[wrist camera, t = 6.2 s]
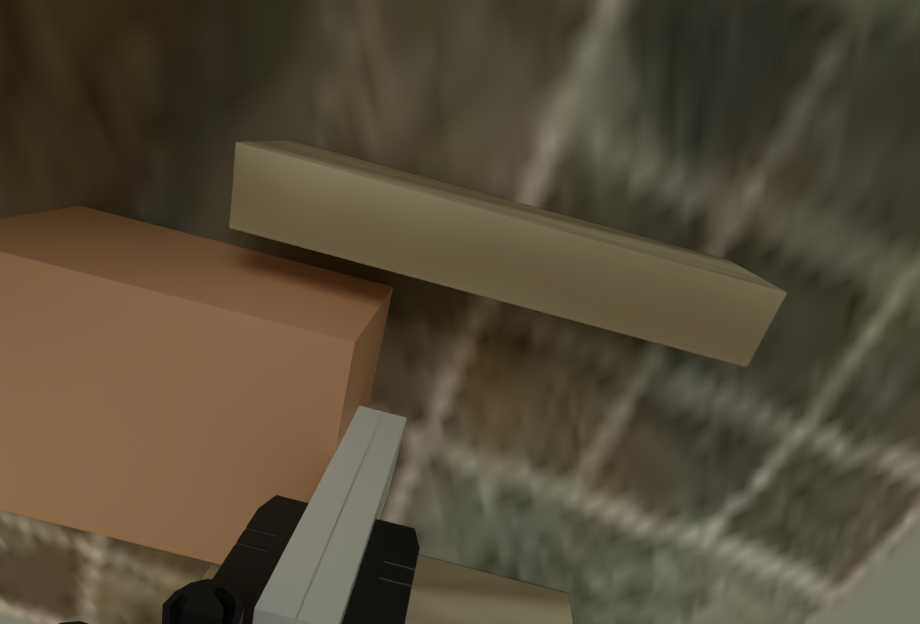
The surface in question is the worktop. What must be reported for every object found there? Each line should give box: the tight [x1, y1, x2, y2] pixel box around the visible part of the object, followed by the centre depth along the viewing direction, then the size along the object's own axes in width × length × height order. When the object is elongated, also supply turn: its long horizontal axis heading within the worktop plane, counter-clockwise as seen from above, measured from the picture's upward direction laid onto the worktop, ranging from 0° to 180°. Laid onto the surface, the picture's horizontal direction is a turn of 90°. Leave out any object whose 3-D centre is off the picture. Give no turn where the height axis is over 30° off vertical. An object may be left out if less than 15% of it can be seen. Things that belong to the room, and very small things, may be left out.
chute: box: [202, 140, 787, 624], centre depth 15 cm, size 16×13×3 cm
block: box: [0, 205, 393, 565], centre depth 14 cm, size 8×10×4 cm
